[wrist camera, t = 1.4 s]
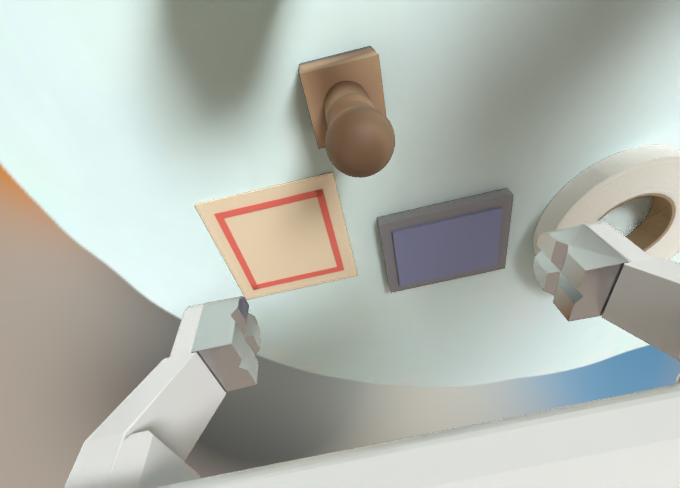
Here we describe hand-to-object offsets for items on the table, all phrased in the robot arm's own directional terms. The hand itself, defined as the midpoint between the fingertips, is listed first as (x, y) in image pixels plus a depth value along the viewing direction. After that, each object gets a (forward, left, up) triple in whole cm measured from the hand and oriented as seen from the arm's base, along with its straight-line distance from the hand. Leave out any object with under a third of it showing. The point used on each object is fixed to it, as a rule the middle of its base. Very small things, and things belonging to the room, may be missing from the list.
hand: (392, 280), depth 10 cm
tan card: (+7, +12, -20) cm, 25 cm away
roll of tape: (-25, +18, -21) cm, 37 cm away
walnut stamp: (-1, 0, -20) cm, 20 cm away
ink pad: (-8, +16, -20) cm, 27 cm away
